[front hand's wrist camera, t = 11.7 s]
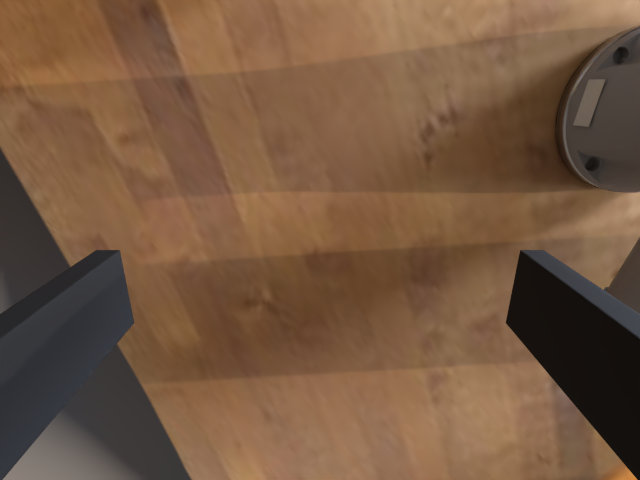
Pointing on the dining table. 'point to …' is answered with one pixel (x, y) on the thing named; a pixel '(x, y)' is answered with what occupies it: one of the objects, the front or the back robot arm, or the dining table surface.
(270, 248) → the dining table surface
